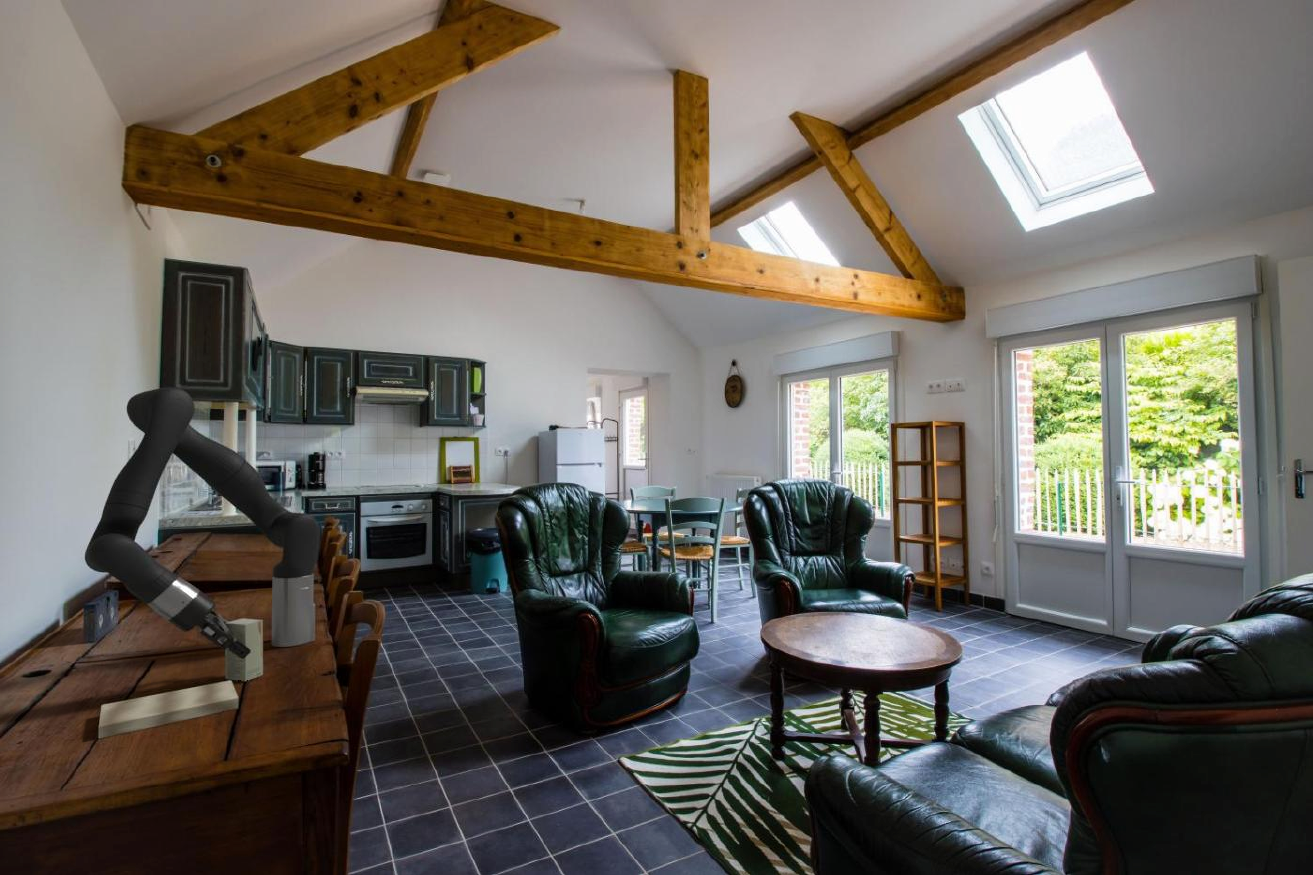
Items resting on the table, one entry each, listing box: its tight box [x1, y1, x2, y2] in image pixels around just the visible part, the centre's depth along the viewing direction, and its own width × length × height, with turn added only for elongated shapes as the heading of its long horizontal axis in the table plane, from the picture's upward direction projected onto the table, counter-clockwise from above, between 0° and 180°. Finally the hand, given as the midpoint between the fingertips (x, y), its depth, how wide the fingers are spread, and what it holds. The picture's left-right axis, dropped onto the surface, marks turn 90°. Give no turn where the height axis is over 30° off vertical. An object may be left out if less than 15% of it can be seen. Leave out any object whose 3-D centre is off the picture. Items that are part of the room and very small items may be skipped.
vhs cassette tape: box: [82, 590, 119, 644], centre depth 168 cm, size 18×3×10 cm, turn 25°
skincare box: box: [224, 617, 264, 682], centre depth 136 cm, size 6×4×12 cm
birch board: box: [98, 679, 239, 739], centre depth 118 cm, size 20×12×2 cm, turn 130°
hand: (246, 649), depth 137 cm, fingers open, 8 cm apart
